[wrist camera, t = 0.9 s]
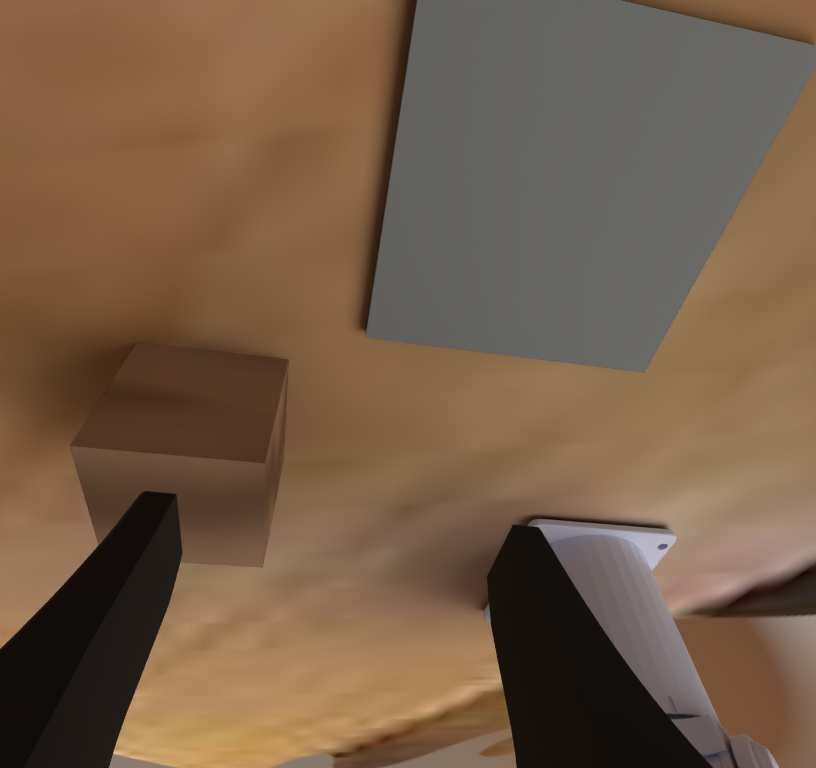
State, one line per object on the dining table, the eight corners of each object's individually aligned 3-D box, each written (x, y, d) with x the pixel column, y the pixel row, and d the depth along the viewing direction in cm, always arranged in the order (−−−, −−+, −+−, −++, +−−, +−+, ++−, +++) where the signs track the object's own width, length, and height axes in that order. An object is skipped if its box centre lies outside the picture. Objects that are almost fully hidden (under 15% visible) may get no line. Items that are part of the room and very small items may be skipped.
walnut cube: (283, 458, 24) (262, 567, 19) (154, 446, 23) (102, 557, 19) (289, 358, 20) (265, 463, 16) (137, 340, 20) (70, 446, 15)
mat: (640, 366, 21) (644, 372, 21) (365, 331, 20) (365, 337, 19) (816, 45, 15) (825, 47, 14) (423, -45, 13) (424, -46, 13)
